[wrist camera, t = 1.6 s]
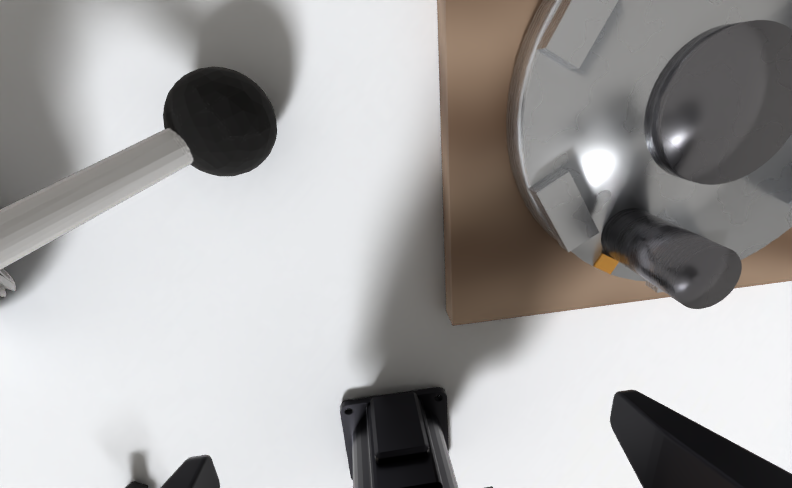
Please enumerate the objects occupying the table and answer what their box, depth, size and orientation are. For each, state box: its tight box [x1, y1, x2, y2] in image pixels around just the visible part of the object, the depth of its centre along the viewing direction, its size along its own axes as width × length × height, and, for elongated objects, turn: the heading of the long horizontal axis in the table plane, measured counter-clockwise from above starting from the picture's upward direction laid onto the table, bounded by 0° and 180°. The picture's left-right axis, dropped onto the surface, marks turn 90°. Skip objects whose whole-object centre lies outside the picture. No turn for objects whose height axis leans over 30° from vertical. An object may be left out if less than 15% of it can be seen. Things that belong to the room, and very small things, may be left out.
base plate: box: [437, 0, 792, 326], centre depth 19 cm, size 21×21×2 cm
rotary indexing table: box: [506, 0, 792, 309], centre depth 15 cm, size 16×16×6 cm
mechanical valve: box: [0, 67, 277, 297], centre depth 16 cm, size 10×18×15 cm
